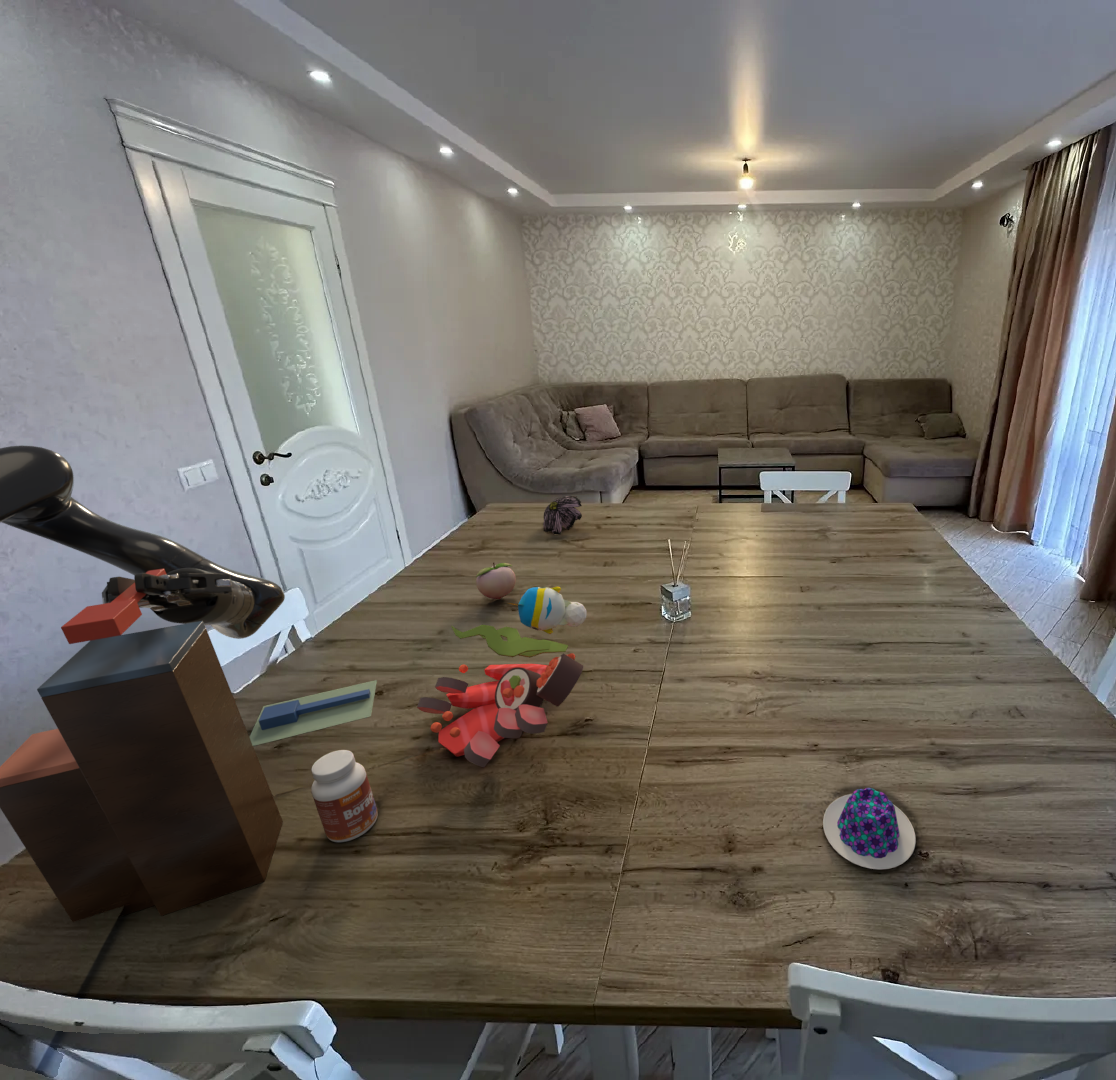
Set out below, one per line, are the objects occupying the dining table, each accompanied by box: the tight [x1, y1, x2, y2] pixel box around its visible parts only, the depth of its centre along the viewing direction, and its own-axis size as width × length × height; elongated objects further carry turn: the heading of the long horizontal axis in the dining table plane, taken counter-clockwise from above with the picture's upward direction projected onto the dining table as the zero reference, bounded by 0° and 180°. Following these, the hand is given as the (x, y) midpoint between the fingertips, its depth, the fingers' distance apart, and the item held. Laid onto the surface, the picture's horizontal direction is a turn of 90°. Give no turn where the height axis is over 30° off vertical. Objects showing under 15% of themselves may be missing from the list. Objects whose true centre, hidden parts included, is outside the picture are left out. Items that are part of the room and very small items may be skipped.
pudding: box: [822, 787, 917, 870], centre depth 74 cm, size 12×12×5 cm
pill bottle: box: [310, 749, 379, 843], centre depth 76 cm, size 6×6×11 cm
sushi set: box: [416, 586, 588, 768], centre depth 97 cm, size 29×30×24 cm
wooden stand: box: [0, 621, 284, 923], centre depth 65 cm, size 18×10×32 cm, turn 115°
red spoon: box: [60, 569, 167, 645], centre depth 64 cm, size 4×16×2 cm, turn 25°
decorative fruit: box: [475, 562, 517, 600], centre depth 139 cm, size 9×8×10 cm
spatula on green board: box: [249, 679, 378, 747], centre depth 100 cm, size 18×12×1 cm, turn 115°
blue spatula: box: [259, 689, 371, 730], centre depth 100 cm, size 4×16×2 cm, turn 115°
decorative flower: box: [542, 495, 583, 535], centre depth 187 cm, size 14×12×15 cm
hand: (127, 584), depth 64 cm, fingers closed on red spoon, 1 cm apart
